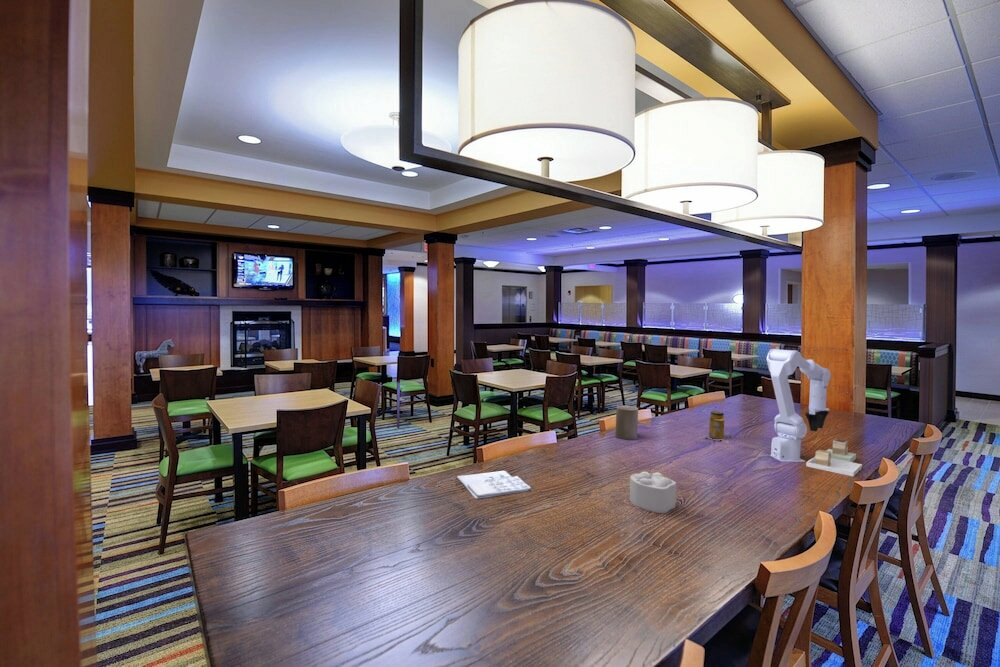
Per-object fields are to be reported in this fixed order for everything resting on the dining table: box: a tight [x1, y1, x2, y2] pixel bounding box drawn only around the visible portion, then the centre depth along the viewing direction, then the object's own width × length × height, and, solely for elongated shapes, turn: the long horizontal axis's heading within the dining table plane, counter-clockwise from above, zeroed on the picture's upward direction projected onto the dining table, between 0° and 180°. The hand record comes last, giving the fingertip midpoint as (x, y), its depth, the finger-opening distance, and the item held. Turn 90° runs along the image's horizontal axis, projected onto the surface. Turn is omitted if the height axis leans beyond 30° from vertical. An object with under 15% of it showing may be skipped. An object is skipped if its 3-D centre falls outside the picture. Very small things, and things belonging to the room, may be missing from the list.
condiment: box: [703, 410, 725, 439], centre depth 216 cm, size 7×8×12 cm
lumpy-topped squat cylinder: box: [629, 471, 677, 514], centre depth 143 cm, size 10×13×9 cm
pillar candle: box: [615, 405, 639, 441], centre depth 217 cm, size 10×10×15 cm
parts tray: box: [805, 456, 863, 478], centre depth 176 cm, size 14×13×2 cm
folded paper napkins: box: [456, 470, 532, 500], centre depth 158 cm, size 19×20×2 cm
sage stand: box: [825, 448, 857, 463], centre depth 186 cm, size 9×9×2 cm
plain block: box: [814, 449, 831, 467], centre depth 178 cm, size 4×4×5 cm
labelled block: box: [832, 438, 849, 456], centre depth 186 cm, size 4×4×5 cm
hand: (816, 429), depth 194 cm, fingers open, 7 cm apart
